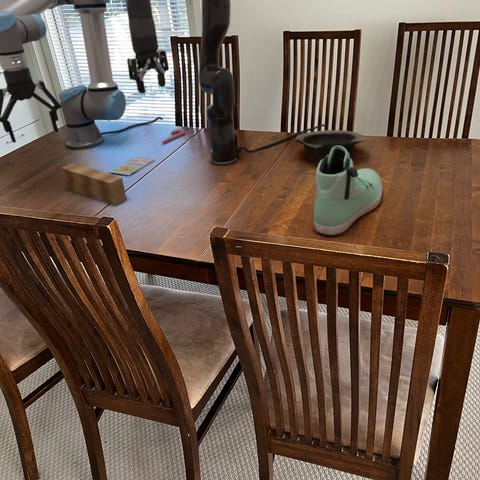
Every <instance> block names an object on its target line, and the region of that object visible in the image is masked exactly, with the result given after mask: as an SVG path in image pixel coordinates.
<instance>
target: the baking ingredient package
mask: <svg viewBox="0 0 480 480" xmlns="http://www.w3.org/2000/svg"><path fill="white" fill-rule="evenodd" d="M153 161H154V159H148V158H147V159H146V158H141V157H134V158H132V159H130V160H128V161H126V162H125V163H123V164H121V165H118V167H115V168H114V169H112V170H110V173H111V174H119V175H127V176H130V175H132V174H133V173H135V172H137V171H138V170H140V169H142V168H143V167H145V166H146V165H148V164H150V163H151V162H153Z"/></svg>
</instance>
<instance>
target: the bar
mask: <svg viewBox="0 0 480 480" xmlns="http://www.w3.org/2000/svg"><path fill="white" fill-rule="evenodd" d="M61 172H62V175H63V179H64V183H65V186H66V189H67V190H69V191H72V192H75V193H77V194H81V195H84V196H86V197H89V198H92V199H95V200H98V201H100V202H104V203H106V204H109V205H112V206H118V205H119V204H121V203H123V202H125V201H127V194H126V190H125V186H124V180H123V177H121V176H119V175H115V174H113V173H110V172H105V171H102V170H99V169H96V168H91V167H88V166H85V165H81V164H77V163H76V162H73V163H70V164H68V165H65V166H63V167H61Z"/></svg>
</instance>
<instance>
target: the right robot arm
mask: <svg viewBox="0 0 480 480" xmlns="http://www.w3.org/2000/svg"><path fill="white" fill-rule="evenodd" d="M125 7H126V8H125V9H126V13H127V18H128V29H129V34H130V40H131V46H132V52H134V54H135V55H134V57H133V58H127V59H126V62H127V69H128V77H129V80H131V81H135V84H136V88H137V92H138V93H139V94H145V93H146V87H145V81H144V78H145V75H146V74H147V72H148V71H150V70H154V71H155V72H156V73H157V74H156V76H157V82H158V86H159V87H162V88H163V87H164V88H165V87H166V78H165V77H166V76H165V74H166V72H167V71H169V70H170V67H169V61H168V57H167V56H168V55H167V51H166V50H161V49H159V42H158V35H157V28H156V23H155V19H154V15H153V9H152V3H151V0H125ZM230 25H231V0H201V47H200V48H201V51H200V60H199V72H198V83H199V87H200V89H201V91H203V92H204V93H206V94H209V95H212V103H211V104H209V105H208V106H207V107H206V120H207V129H208V137H209V152H210V158H211V159H210V160H211V163H212V164H214V165H216V166H217V165H218V166H226V165H231V164H234V163H235V162H236V161H237V160H239V158H240V157H239V155H240V154H241V153H243V150H245V152H247V153H255V152H258V151H261V150H264V149H266V148H270V147H272V146H275V145H278V144H281V143H282V142H285V141H287V140H290V139H292V138H294V137H297V136H298V135H300V134H303V133H308V132H311V131H315V130H316V129H319V128H321V127H324V128H328V125H326V124H323V123H322V124H318V125H316V126H314V127H310V128H307V129H303V130H301V131H299V132H296V133H293V134H291V135H289V136H287V137H284V138H282V139H279V140H277V141H275V142H272V143H269V144H266V145H263V146H260V147H258V148H255V149H248V148H247V147H245V146H242V145H239V144H238V143H239V142H238V134H237V133H236V131H235V121H234V107H235V103H236V101H235V80H234V76H233V73H232V72H231V70H230V69H228V68H226V67H221V66H220V52H221V47H222V44H223V43H224V40H225V38H226V36H227V33H228V31H229V28H230Z"/></svg>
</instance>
